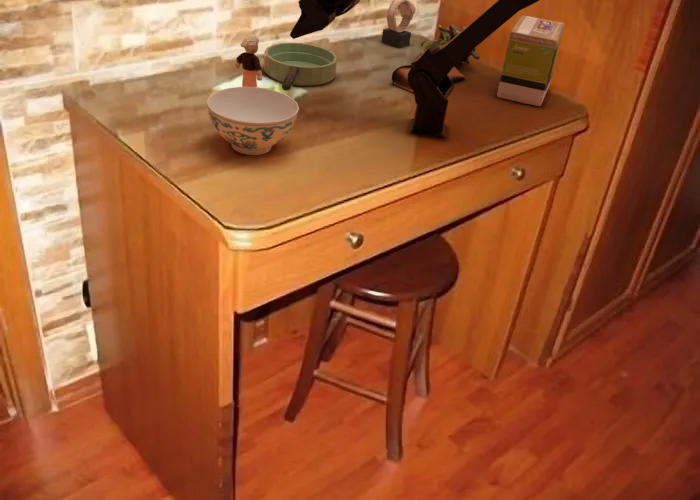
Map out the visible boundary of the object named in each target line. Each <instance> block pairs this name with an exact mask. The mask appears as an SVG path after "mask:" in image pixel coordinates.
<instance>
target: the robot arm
mask: <svg viewBox="0 0 700 500" xmlns="http://www.w3.org/2000/svg"><path fill="white" fill-rule="evenodd" d="M360 2H361V0H298V7H299V9H300V15H299V17H298V19H297V21H296V22H295V24H294V26H293V28H292V29H291V31H290V32H289V36H290V37H291V39H293V40H295V39H298V38H301V37H304V36H307V35H311V34H313V33H316V32H321V31H323V30H324V29H326V28H328V26H330V24H332V23H333V22H334V21H335V20H336V18H338V17H340V16H342V15H345V14H347V13H348V12H349V11H351V10H352V9H354V8H355V7H356V6H357V5H358V4H359V3H360ZM538 2H540V0H496V1H494V2H493V3H492V4H491V5H490V6H489V7H487V8H486V9H485V10H484V11H483V12H481V13H480V15H478V16H477V17H475V19H474V20H472V21H471V22H470V23H468V25H466V28H464V29H463V30H462V29H461V30H460V31H461V32H460V33H459V34H457V35H456V36H455V37H454V38H453V39H452V40H451V41H449V42H448V43H446V44H444V45H442V46H440V47H439V46H438V44H437V43H436V41H437V40H434V42H433V41H432V42H433V43H432V42H431V43H432V45H431V46H430V47H429V48H428V49H427V50H426V51H425V52H424V51H423V52H420V53H419V54H418V55H417V56H416V57H415V58H414V59H413V60H412V61H411V63H410V64H411V65H413V67H412V68H411V69H410V71H409V72H408V84H409V86H410V88H411V89H412V90H413V92H412V93H413V96H414V101H415V104H416V105H415V112H414V117H413V118H411V119H410V130H409V133H410V134H411V135H417V136H423V137H432V138H436V139H437V138H438V139H445V137H446V124H445V120H446V116H447V111H448V105H449V100H448V98H449V96H450V95H451V94H452V92H453V91H454V89H455V84H454V82H452V81H451V79H450V78H449V76H448V73H449V72H450V71H451V70H452V68H453V67H456V65H457V64H458V63H459V61H460V60H461V59H462V58H463V57H464V56H466V55H467V54H468V53H469V52H470V51H472V50H473V49H474V48H475V47H476V48H477V47H478V46H480V45H481V44H482V42H484V41H485V40H486V39H488V38H489V37H490V36H491V35H493V33H495V32H496V31H497V30H498V29H499V28H500V27H502V26H503V25H504V24H505V23H507V22H508V21H509V20H510V19H512V18H513V17H514V16H515V15H516V14H517V13H518V12H520V11H522V10H524V9H526V8H528V7H530V6H532V5H534V4H536V3H538Z"/></svg>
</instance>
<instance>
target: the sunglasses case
mask: <svg viewBox="0 0 700 500" xmlns="http://www.w3.org/2000/svg"><path fill="white" fill-rule="evenodd" d="M412 67H413V65H411V63H410V64H405V65H401V66H399V67H397V68H395V69H394V71H392V74H391V81H392V84H393V85H394V86H395V87H398V88H400V89H402V90H405V91H407V92H411V93H414V92H413V90H412V89H411V88H410V86H409V84H408V72H409V71H410V69H411V68H412ZM448 76H449V78H450V79H451V81H452V82H453V83H456V82H458V81H461V80H464V79H466V78H467V77H466V76H465V75H463V73H461V72H460V71H459V70H458V69H457V68H456V66H454V67H453V68H452V70H451V71H450V72H449V73H448Z"/></svg>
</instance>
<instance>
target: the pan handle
mask: <svg viewBox="0 0 700 500" xmlns="http://www.w3.org/2000/svg"><path fill="white" fill-rule="evenodd" d="M298 72H299V69H298V68H297V67H296V66H292V67H291V68H290V70H289V72H288V74H287V76H286V78H285V80H284V81H283V82H281V90H283V91H285V92H289V91H290V90H291V88H292V87H293V86H294V85H293V83H294V80H295V78H296V76H297V74H298Z"/></svg>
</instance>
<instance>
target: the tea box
mask: <svg viewBox="0 0 700 500" xmlns="http://www.w3.org/2000/svg"><path fill="white" fill-rule="evenodd" d="M564 28H565V22H562V21H556V20H550V19H545V18H539V17H534V16H529V15H525V14H522V15H521V16H519V19H518V21H516V23H515V25H514V26H513V28H512V29H511V31H510V32H509V33H510V34H509V37H508V42H507V46H506V50H505V56H504V60H503V63H502V64H503V65H502V68H501V69H502V70H501V73H500V78H499V83H498V89H497V92H496V97H497V98H499V99H503V100H508V101H512V102H517V103H521V104H525V105H530V106H535V107H541V106H542V104H543V101H544V99H545V97H546V95H547V93H548V90H549V88H550V85H551V82H552V77H553V73H554V69H555V65H556V62H557V58H558V54H559V50H560V46H561V42H562V38H563V34H564Z"/></svg>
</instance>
